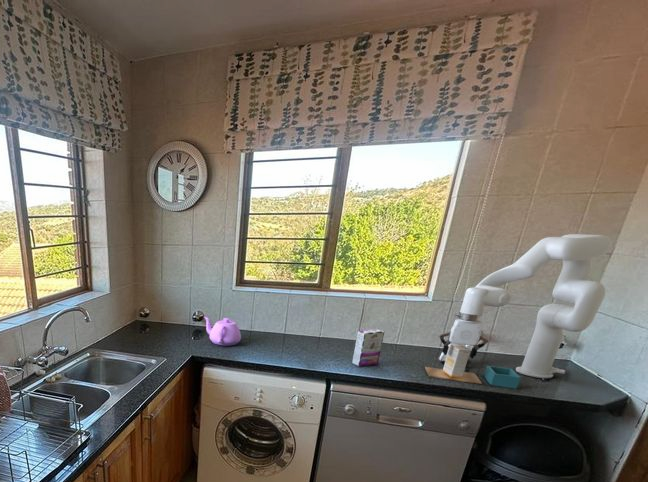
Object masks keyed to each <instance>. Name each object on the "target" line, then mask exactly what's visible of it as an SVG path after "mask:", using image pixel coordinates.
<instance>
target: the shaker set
mask: <svg viewBox="0 0 648 482" xmlns="http://www.w3.org/2000/svg"><path fill="white" fill-rule="evenodd" d="M451 344H455V343H451ZM448 346H449V347H450V344H449V345H448ZM464 346H465V347H467V348H469V349H470V350H471V345H464ZM448 350H449V348H448ZM447 354H448V352H447ZM446 357H447V355H444V354H443V352H442V351H441V353H440V356H439V357H438V359H439V362H441V363H445V361H446Z"/></svg>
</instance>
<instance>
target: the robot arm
mask: <svg viewBox="0 0 648 482" xmlns="http://www.w3.org/2000/svg"><path fill="white" fill-rule="evenodd" d="M612 246H613V240H612V239H611V238H610V237H609V236H607V235H605V234H589V233H588V234H587V233H586V234H585V233H568V234H564V235H562V236H548V237H544V238H542V239H540V240H539V241H537V242H536V244H534V245H533V246H532V247H531V248H530V249H528V250H527V252H526V253H524V254H523V255H522V256H521V257H520V258H518V259H517V260H516V261H515V262H514V263H512V264H510V265H508V266H505V267H503V268H500V269H498V270H496V271H494V272H492V273H490V274H488V275H487V276H485V277H484V278H483V279H482V280H480V282H479V283H477V285H475V286H474V287H473V286H472V287H468V288H467V289H466V290H465V294H464V297H463V301H462V304H461V306H460V310H459V312H458V313H454V317H455V318H456V319H455V320H454V322H453V324H452V326H451V329H450V330H449V331H447V332H443V333H440V334H439V335H438V337H439V340H440V342H441V344H443V347H442V350H441V353H442V352H443V354H444V355H447V352H448V348H449V346H448V345H449V344H451V343H455V344H461V345H463V346H466V345H470V346H472V348H471V349H470V350H471V351H470V354H469V358H471V359H474V358H475V357H476V356H477V353H478V350H480V349H481V348H483V347H485V345H487V344H488V343H489V339H488V338H486V337H485V336H482V329H483V322H482V321H481V320H482V316H483V313H484V310H485V307H494V308H501V307H505V306H506V305H507V304H509V303H510V302H511V301H512V297H513V295H512V293H511V291H509V290H508V289H505V288H502V287H500V286H503V285H506V284H508V283H513V282H516V281H522V280H527V279H531V278H533V277H535V275H537V274H538V273H539V272H540V271H541V270H542V269H544V268H545V267H546V266H548V265H549V264H550V263H551V262H552V261H554V260H555V261H562V269H561V271H560V274H559V276H558V278H557V280H556V283H555V284H554V287H553V290H552V293H551V295H552V298H553V299H554V300H556V301H559V302H565V303H570V304H574V306H571V305H566V304H561V303H548V304H545V305H544V306H542V307H540V309H539V310H538V312H537V314H536V322H535V328H534V331H533V334H532V336H531V340H530V342H529V345H528V347H527V350H526V353H525V355H524V359H523V360H522V363H521V366H517V367H515V372H516V373H517V374H518V373H519V374H521V375H524V376H528V377H531V378H538V379H552V378H553V377H554V374H559V375H565V374H566V369H560V368H559V367H554V366H553V364H554V363H555V359H556V357H557V354H558V352H559V349H560V347H561V344H562V342H563V339H564V331H569V332H571V333H572V332H573V333H579V332H583V331H585V330H587V329H588V328H589V327H590V326H591V324H592V323H593V321H594V319H595V317H596V315H597V313H598V311H599V309H600V307H601V305H602V304H603V301H604V299H605V296H606V287H605V286H604V284H602V283H601V282H599V281H594V280H588V279H589V277H590V274H591V273H592V269H593V260H594V259H598V258H601V257H603V256H605V255H606V254H607V253H609V251H610V250H611V249H612ZM592 259H593V260H592ZM563 330H564V331H563ZM445 337H447V340H446V339H445ZM480 341H482V342H480ZM479 342H480V343H479Z"/></svg>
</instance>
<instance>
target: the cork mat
mask: <svg viewBox="0 0 648 482" xmlns="http://www.w3.org/2000/svg"><path fill="white" fill-rule="evenodd" d="M424 369H425V371H426V374H427V376H428V377H429V378H436V379H441V380H448V381H449V380H450V381H456V382H464V383H470V384H477V385H483V383H482V381H481V380H480V379H479V377H478V376H477V375H476V373H474V372H469V371H468V372H467V371H464V373H463V377H462V378H456V377H450V376H449V375H447V374H446V373H445V372H443V368H437V367H431V366H424Z"/></svg>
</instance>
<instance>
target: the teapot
mask: <svg viewBox="0 0 648 482" xmlns="http://www.w3.org/2000/svg"><path fill="white" fill-rule="evenodd" d="M203 318H204V319H205V322H206V325H205V326H206V327H205V329H206V333H207V334H208V335H209V339H210V341H211V342H212V343H213V344H215V345H219V346H227V347H232V346H235V345H237V344H238V343H239V342H241V340H242V334H241V330H240V327H239V326H238V325H237V323H236V321H233V320H231V319H230V318H228V317H224V318H222V320H217V322H215V324H214V325H213V327H212V326H211V319H210V318H209V317H207V316H203Z"/></svg>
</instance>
